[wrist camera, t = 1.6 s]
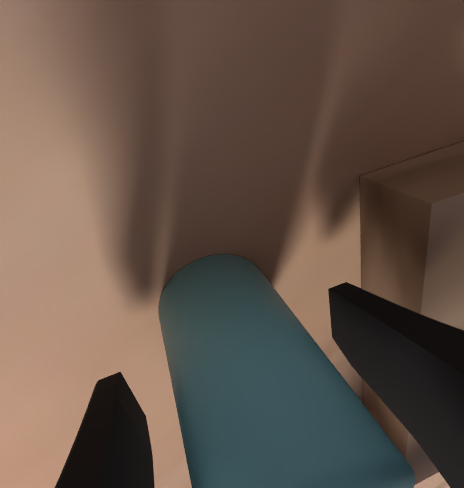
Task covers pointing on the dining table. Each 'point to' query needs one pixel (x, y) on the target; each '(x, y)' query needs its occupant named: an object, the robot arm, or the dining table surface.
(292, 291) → the dining table surface
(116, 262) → the dining table surface
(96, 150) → the dining table surface
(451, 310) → the socket block
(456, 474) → the robot arm
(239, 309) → the peg
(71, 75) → the dining table surface
